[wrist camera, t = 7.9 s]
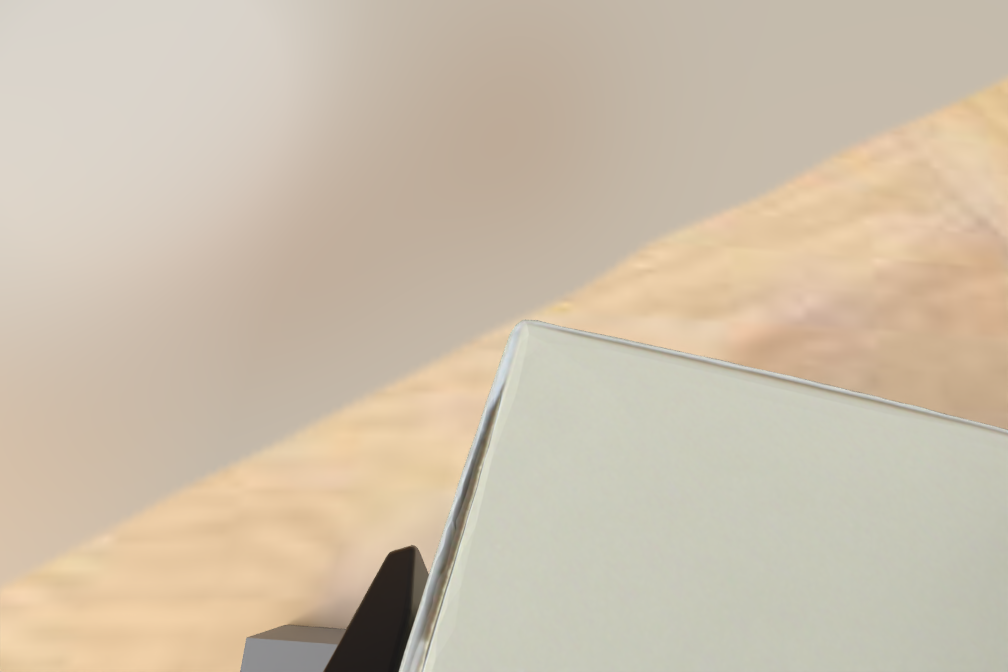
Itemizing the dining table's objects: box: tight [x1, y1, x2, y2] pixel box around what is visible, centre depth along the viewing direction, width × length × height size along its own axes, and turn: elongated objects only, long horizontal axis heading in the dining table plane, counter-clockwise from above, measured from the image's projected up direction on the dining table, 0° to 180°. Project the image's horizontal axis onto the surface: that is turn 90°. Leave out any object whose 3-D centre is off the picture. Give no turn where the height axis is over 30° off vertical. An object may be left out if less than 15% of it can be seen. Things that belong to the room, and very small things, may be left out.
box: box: [399, 320, 1008, 672], centre depth 9 cm, size 5×4×11 cm
